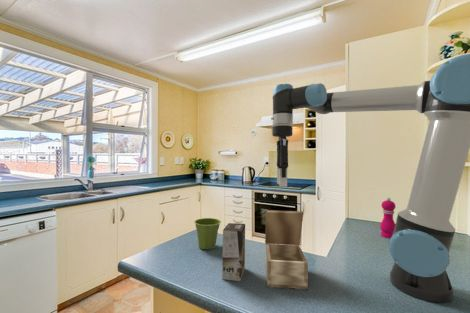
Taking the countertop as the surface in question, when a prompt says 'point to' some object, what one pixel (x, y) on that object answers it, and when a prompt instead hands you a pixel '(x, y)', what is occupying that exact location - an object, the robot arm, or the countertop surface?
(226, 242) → the coffee box
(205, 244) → the plant pot
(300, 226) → the lid
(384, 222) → the pepper mill
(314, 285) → the countertop surface
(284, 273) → the box
